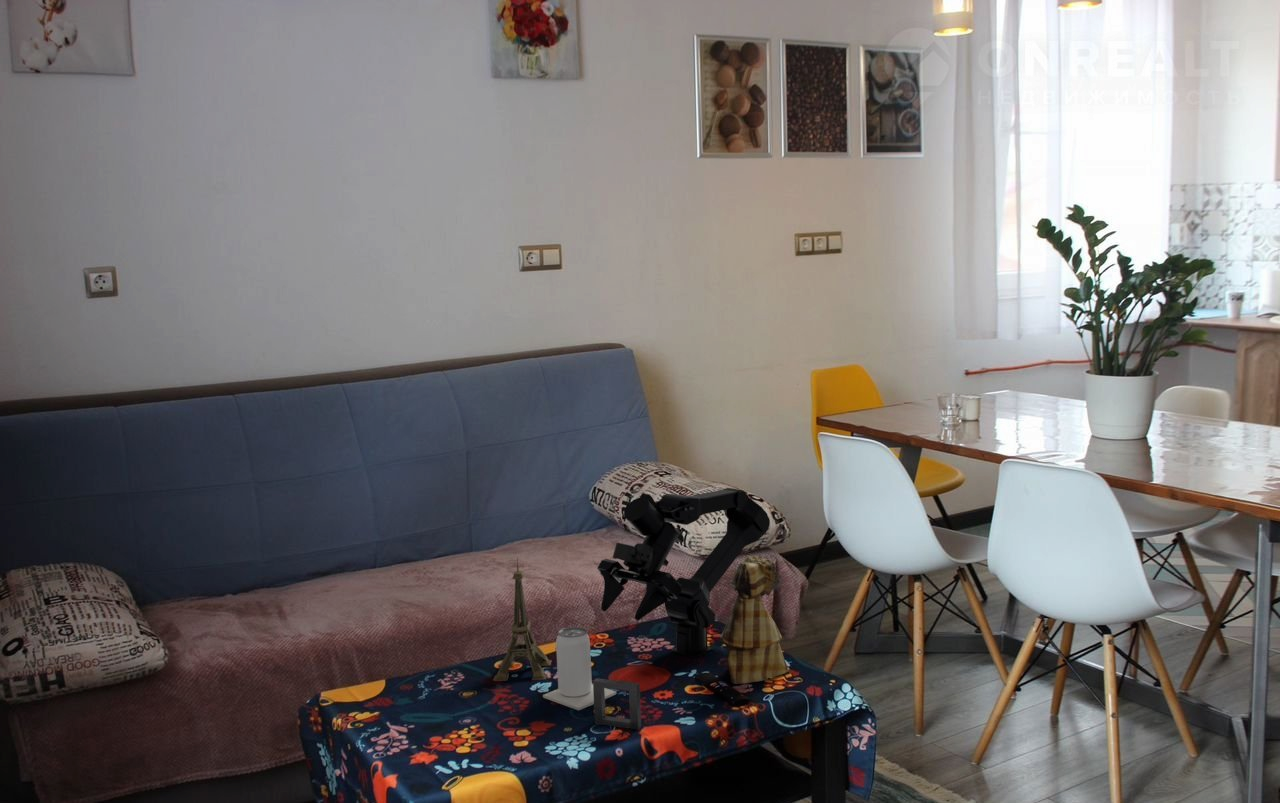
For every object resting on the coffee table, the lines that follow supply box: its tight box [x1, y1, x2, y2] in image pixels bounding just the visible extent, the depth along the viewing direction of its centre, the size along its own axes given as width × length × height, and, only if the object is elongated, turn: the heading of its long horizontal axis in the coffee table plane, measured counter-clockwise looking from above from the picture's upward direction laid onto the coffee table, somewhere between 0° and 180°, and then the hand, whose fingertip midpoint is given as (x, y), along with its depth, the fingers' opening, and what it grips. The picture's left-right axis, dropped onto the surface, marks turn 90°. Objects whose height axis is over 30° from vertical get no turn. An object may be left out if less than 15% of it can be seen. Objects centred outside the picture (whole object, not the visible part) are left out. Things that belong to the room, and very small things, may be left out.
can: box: [555, 626, 593, 697], centre depth 220 cm, size 6×6×12 cm
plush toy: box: [719, 555, 790, 685], centre depth 227 cm, size 14×14×25 cm
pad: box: [542, 683, 617, 711], centre depth 220 cm, size 10×10×1 cm
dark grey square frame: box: [592, 677, 642, 730], centre depth 206 cm, size 2×8×8 cm, turn 68°
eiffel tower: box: [492, 558, 553, 682], centre depth 233 cm, size 11×11×25 cm
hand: (619, 614), depth 225 cm, fingers open, 9 cm apart
